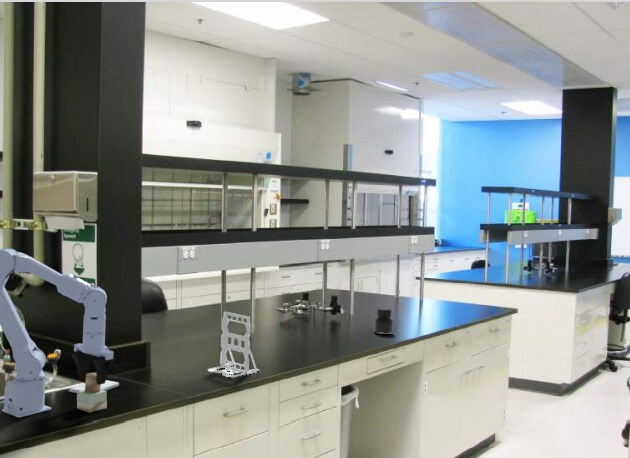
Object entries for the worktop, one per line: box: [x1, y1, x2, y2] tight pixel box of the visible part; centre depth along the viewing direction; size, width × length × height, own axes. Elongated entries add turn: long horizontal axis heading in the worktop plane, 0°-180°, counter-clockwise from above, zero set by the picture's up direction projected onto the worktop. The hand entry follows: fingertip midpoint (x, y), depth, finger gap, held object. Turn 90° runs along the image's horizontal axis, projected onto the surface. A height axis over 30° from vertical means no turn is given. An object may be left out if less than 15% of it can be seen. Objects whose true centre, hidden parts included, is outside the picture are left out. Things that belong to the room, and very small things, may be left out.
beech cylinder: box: [84, 372, 101, 393], centre depth 174 cm, size 4×4×4 cm
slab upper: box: [76, 389, 108, 404], centre depth 174 cm, size 6×6×2 cm
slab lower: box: [76, 399, 108, 413], centre depth 174 cm, size 6×6×2 cm
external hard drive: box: [68, 379, 120, 394], centre depth 193 cm, size 2×8×12 cm
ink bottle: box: [373, 307, 394, 333], centre depth 304 cm, size 10×9×12 cm
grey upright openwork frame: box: [207, 311, 260, 379], centre depth 220 cm, size 14×14×20 cm
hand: (92, 381), depth 174 cm, fingers open, 7 cm apart
